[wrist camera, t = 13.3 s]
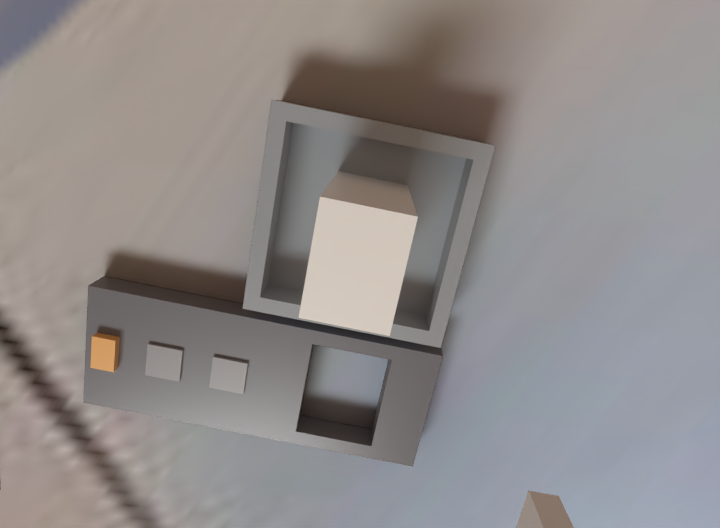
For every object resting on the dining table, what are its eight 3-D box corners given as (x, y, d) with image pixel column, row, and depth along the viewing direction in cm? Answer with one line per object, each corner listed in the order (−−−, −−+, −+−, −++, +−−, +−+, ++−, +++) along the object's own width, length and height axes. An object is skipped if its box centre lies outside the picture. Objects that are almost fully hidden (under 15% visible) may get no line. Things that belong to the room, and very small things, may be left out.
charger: (321, 259, 34) (298, 317, 25) (338, 170, 33) (320, 196, 23) (387, 272, 34) (389, 336, 25) (407, 185, 33) (418, 216, 23)
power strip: (98, 387, 38) (78, 407, 36) (103, 276, 36) (83, 288, 33) (411, 448, 39) (413, 472, 36) (439, 343, 36) (443, 360, 34)
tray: (253, 292, 36) (242, 308, 33) (281, 100, 32) (271, 99, 29) (436, 328, 36) (440, 347, 33) (485, 142, 32) (495, 145, 29)
